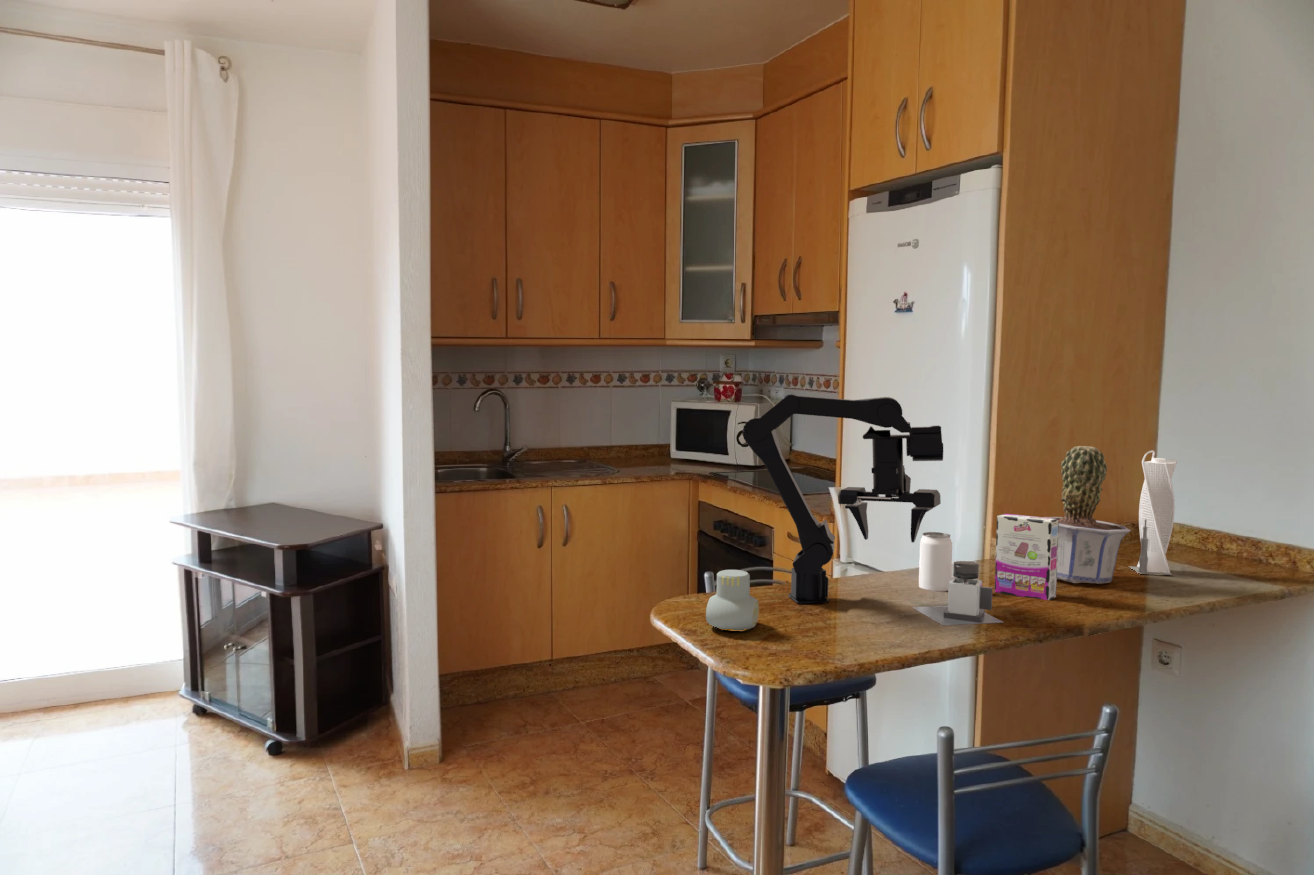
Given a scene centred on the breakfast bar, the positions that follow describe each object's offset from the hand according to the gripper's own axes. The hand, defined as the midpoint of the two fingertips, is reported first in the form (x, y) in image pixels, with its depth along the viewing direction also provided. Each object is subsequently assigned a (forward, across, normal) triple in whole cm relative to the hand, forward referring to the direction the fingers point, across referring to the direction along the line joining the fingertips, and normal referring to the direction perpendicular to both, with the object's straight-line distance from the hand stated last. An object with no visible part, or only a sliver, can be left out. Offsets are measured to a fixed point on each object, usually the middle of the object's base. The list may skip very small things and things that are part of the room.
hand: (889, 540), depth 173 cm
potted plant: (+15, -30, -44) cm, 55 cm away
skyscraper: (+16, -44, -62) cm, 77 cm away
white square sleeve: (+13, -14, +3) cm, 20 cm away
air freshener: (+12, +20, +30) cm, 38 cm away
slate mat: (+14, -13, +2) cm, 19 cm away
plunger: (+11, -15, +3) cm, 18 cm away
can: (+14, -5, -17) cm, 22 cm away
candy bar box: (+14, -21, -23) cm, 35 cm away
